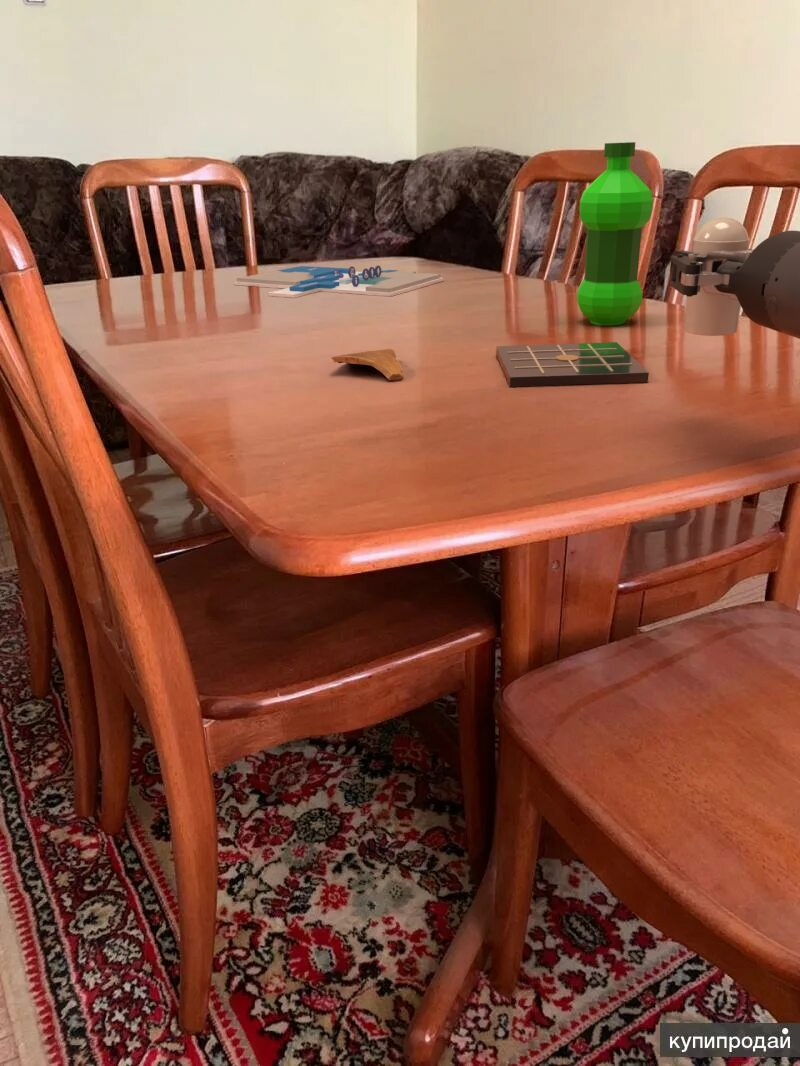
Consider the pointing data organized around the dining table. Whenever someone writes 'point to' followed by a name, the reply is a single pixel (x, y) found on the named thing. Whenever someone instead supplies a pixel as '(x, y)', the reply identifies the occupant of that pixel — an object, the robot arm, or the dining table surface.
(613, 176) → the plastic bottle
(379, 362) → the pottery shard
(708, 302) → the dome-topped cylinder
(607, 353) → the board
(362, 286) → the relief map
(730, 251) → the robot arm
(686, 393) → the dining table surface
